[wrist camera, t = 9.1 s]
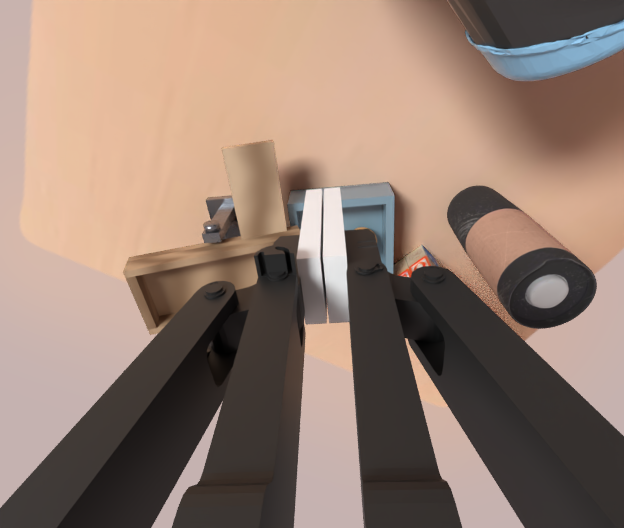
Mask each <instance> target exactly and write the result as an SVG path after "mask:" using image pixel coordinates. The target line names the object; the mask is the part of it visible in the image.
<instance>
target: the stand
mask: <svg viewBox="0 0 624 528" xmlns="http://www.w3.org/2000/svg"><path fill="white" fill-rule="evenodd" d="M206 203H207V207H208V211H209V215H210V218H211V221H207V222H205V223H204V224H203V226H204V232H203V233H202V236H203V240H204V243H216V242H222V240H223V239H228V238H233V237H239V236H241V234H240V230H239V225H238V221H237V216H236V212H235V207H234V203H233V198H232V196H222V197H210V198H207V199H206Z"/></svg>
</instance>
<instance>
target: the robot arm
mask: <svg viewBox="0 0 624 528" xmlns="http://www.w3.org/2000/svg"><path fill="white" fill-rule="evenodd" d="M447 2H448V3H449V5H450V6H451V8H452V9H453V11H454V12H455V14H456V15H457V17H458V18H459V20H460V21H461V23H462V24H463V26H464V27H465V29H466V30H465V34H466V37H467V39H468V41H469V42H470V44H471V45H472V46H474V47H475V48H476V49H478V50H480V51H481V53H482V54H483V56H484V57H485V58H486V60H487V61H488V62H489V64H490V65H491V66H492V68H493V69H494V70H495V71H496V72H497V73H498V74H501V75H502V76H504V77H506V78H509V79H511V80H515V81H538V80H544V79H549V78H554V77H557V76H561V75H564V74H568V73H571V72H574V71H577V70H579V69H582V68H584V67H587V66H590V65H592V64H594V63H597V62H599V61H601V60H603V59H606V58H608V57H610V56H612V55H614V54H615V53H617V52H619V51H621V50H623V49H624V0H447ZM254 260H255V265H256V269H257V274H258V279H257V283H256V284H254V285H252V286H249V287H246V288H243V289H239V290H235V286H234V284H232V283H231V282H227V281H215V282H211V283H208V284H206V285H204V286H202V287H201V288H200V289H199V290H197V291H196V293H195V294H194V295H193V296H192V297H191V298H190V299H189V300H188V301H187V302H186V304H185V305H184V306H183V307H182V308H181V309H180V310H179V311H178V312H177V313H176V315H175V316H174V317H173V318H172V319H171V320H170V321H169V322H168V323H167V325H166V326H165V327H164V328H163V329H162V330H161V331H160V332H159V333H158V334H157V336H156V337H155V338H154V339H153V340H152V341H151V342H150V343H149V344H148V346H147V347H146V348H145V349H144V350H143V351H142V352H141V353H140V354H139V356H138V357H137V358H136V359H135V360H134V361H133V362H132V363H131V364H130V365H129V367H128V368H127V369H126V370H125V371H124V372H123V373H122V374H121V375H120V377H119V378H118V379H117V380H116V381H115V382H114V383H113V384H112V385H111V387H110V388H109V389H108V390H107V391H106V392H105V393H104V394H103V395H102V396H101V398H100V399H99V400H98V401H97V402H96V403H95V404H94V405H93V406H92V407H91V409H90V410H89V411H88V412H87V413H86V414H85V415H84V416H83V417H82V418H81V420H80V421H79V422H78V423H77V424H76V425H75V426H74V427H73V428H72V429H71V431H70V432H69V433H68V434H67V435H66V436H65V437H64V438H63V440H62V441H61V442H60V443H59V444H58V445H57V446H56V447H55V448H54V449H53V450H52V452H51V453H50V454H49V455H48V456H47V457H46V458H45V459H44V460H43V461H42V463H41V464H40V465H39V466H38V467H37V468H36V469H35V470H34V471H33V473H32V474H31V475H30V476H29V477H28V478H27V479H26V480H25V481H24V483H23V484H22V485H21V486H20V487H19V488H18V489H17V490H16V491H15V492H14V494H13V495H12V496H11V497H10V498H9V499H8V500H7V501H6V503H5V504H4V505H3V506H2V507H1V508H0V528H151V527H152V525H153V523H154V522H155V520H156V518H157V516H158V515H159V513H160V511H161V509H162V507H163V505H164V504H165V502H166V500H167V499H168V497H169V495H170V493H171V491H172V490H173V488H174V486H175V484H176V483H177V481H178V479H179V477H180V475H181V474H182V472H183V470H184V468H185V467H186V465H187V463H188V461H189V460H190V458H191V456H192V454H193V452H194V451H195V449H196V447H197V445H198V443H199V442H200V440H201V438H202V436H203V435H204V433H205V431H206V429H207V428H208V426H209V424H210V422H211V420H212V419H213V417H214V415H215V413H216V411H217V410H218V408H219V406H220V404H221V402H222V401H223V403H222V406H221V410H220V414H219V417H218V421H217V424H216V428H215V431H214V435H213V438H212V442H211V445H210V449H209V452H208V456H207V459H206V463H205V466H204V470H203V473H202V476H201V479H200V481H199V482H198V484H197V485H194V486H191V487H189V488H188V489H187V490H186V492H185V493H184V495H183V497H182V499H181V502H180V504H179V507H178V510H177V513H176V516H175V519H174V522H173V526H172V528H294V513H295V497H296V479H297V464H298V447H299V432H300V416H301V399H302V383H303V367H304V350H305V327H304V316H305V323H306V324H322V323H327V305H328V315H329V323H340V322H350V337H351V350H352V364H353V378H354V391H355V392H354V393H355V406H356V420H357V435H358V449H359V463H360V477H361V491H362V505H363V519H364V528H462V525H461V522H460V518H459V515H458V511H457V507H456V503H455V501H454V498H453V494H452V491H451V488H450V487H449V485H448V483H447V481H445V480H443V479H442V478H441V476H440V473H439V470H438V466H437V462H436V458H435V454H434V451H433V447H432V443H431V439H430V435H429V431H428V427H427V423H426V419H425V416H424V411H423V408H422V404H421V400H420V396H419V392H418V388H417V384H416V380H415V376H414V372H413V369H412V365H411V361H410V357H409V353H408V349H407V345H406V341H405V338H407V339H408V341H409V344H410V346H411V348H412V349H413V351H414V353H415V354H416V356H417V357H418V359H419V361H420V362H421V364H422V365H423V367H424V369H425V370H426V372H427V373H428V375H429V376H430V378H431V380H432V381H433V383H434V384H435V386H436V388H437V389H438V391H439V392H440V394H441V396H442V397H443V399H444V400H445V402H446V403H447V405H448V407H449V408H450V410H451V411H452V413H453V415H454V416H455V418H456V419H457V421H458V422H459V424H460V425H461V427H462V429H463V430H464V432H465V434H466V435H467V436H468V438H469V440H470V442H471V443H472V445H473V446H474V448H475V449H476V451H477V453H478V454H479V456H480V457H481V459H482V461H483V462H484V464H485V465H486V467H487V468H488V470H489V472H490V473H491V475H492V476H493V478H494V480H495V481H496V483H497V484H498V486H499V488H500V489H501V491H502V492H503V494H504V495H505V497H506V498H507V500H508V502H509V503H510V505H511V507H512V508H513V510H514V511H515V513H516V515H517V516H518V518H519V519H520V521H521V522H522V524H523V525H524V527H525V528H624V436H623V435H622V434H621V433H620V432H619V431H618V430H617V429H615V428H614V427H613V426H612V425H611V424H610V423H609V422H608V421H607V420H606V419H605V418H604V417H603V416H602V415H601V414H600V413H599V412H598V411H597V410H596V409H595V408H594V407H593V406H591V405H590V404H589V403H588V402H587V401H586V400H585V399H584V398H583V397H582V396H581V395H580V394H579V393H578V392H577V391H576V390H575V389H574V388H573V387H572V386H571V385H570V384H568V383H567V382H566V381H565V380H564V379H563V378H562V377H561V376H560V375H559V374H558V373H557V372H556V371H555V370H554V369H553V368H552V367H551V366H550V365H549V364H548V363H547V362H546V361H544V360H543V359H542V358H541V357H540V356H539V355H538V354H537V353H536V352H535V351H534V350H533V349H532V348H531V347H530V346H529V345H528V344H527V343H526V342H525V341H524V340H523V339H522V338H520V337H519V336H518V335H517V334H516V333H515V332H514V331H513V330H512V329H511V328H510V327H509V326H508V325H507V324H506V323H505V322H504V321H503V320H502V319H501V318H500V317H499V316H497V315H496V314H495V313H494V312H493V311H492V310H491V309H490V308H489V307H488V306H487V305H486V304H485V303H484V302H483V301H482V300H481V299H480V298H479V297H478V296H477V295H476V294H475V293H473V292H472V291H471V290H470V289H469V288H468V287H467V286H466V285H465V284H464V283H463V282H462V281H461V280H460V279H459V278H458V277H457V276H456V275H455V274H454V273H452V272H451V271H449V270H448V269H445V268H442V267H439V266H423V267H420V268H417V269H416V270H414V271H413V272H412V274H411V277H404V276H398V275H395V274H392V273H390V272H388V271H387V268H386V266H385V265H384V264H383V263H382V261H381V257H380V254H379V250H378V247H377V242H376V238H375V234H374V233H373V232H371V231H370V230H369V229H357V230H344V224H343V213H342V203H341V192H340V187H336V188H324V205H323V194H322V189H313V190H306V195H305V202H304V209H303V216H302V223H301V230H300V235H290V236H280V237H279V238H278V239H277V240H276V241H275V242H274V244H273V245H272V246H267V247H265V248H262V249H260V250H259V251H257V252H256V253H255V255H254Z"/></svg>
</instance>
